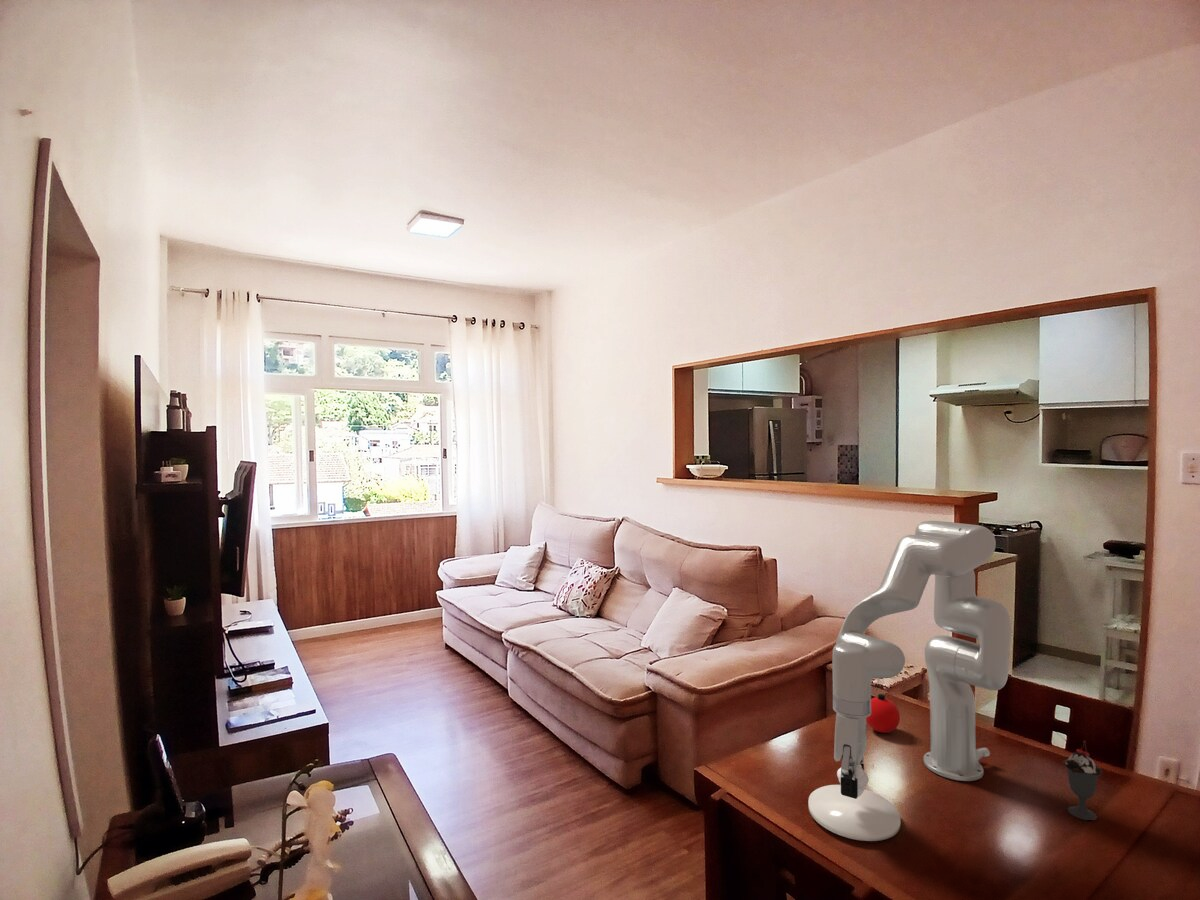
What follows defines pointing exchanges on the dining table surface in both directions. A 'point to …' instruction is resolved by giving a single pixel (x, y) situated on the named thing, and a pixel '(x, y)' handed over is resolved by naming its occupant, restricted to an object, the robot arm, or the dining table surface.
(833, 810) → the cake plate
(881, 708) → the ornament
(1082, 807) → the sundae
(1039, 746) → the dining table surface
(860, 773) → the muffin
